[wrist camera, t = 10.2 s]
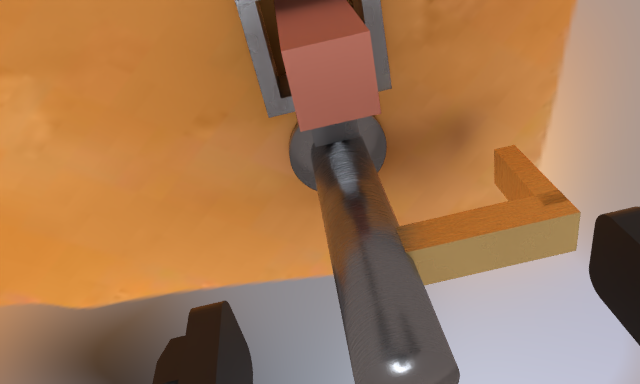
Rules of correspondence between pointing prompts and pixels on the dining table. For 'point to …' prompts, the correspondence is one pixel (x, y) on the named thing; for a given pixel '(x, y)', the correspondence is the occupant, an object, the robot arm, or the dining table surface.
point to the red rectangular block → (327, 61)
